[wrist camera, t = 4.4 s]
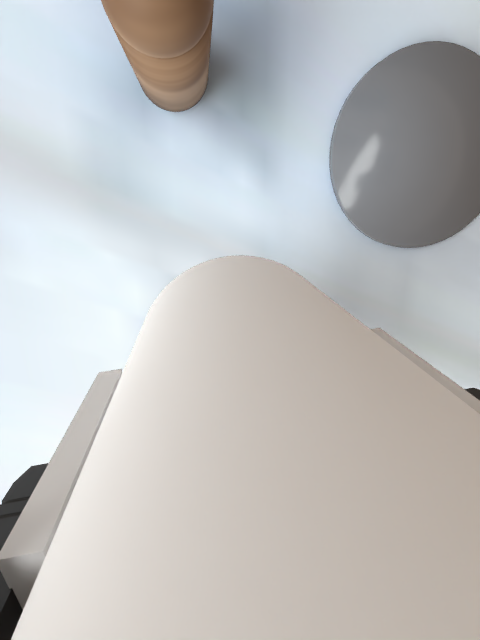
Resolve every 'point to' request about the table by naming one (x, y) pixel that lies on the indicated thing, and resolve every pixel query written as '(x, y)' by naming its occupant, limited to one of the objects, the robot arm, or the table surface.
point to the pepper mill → (166, 47)
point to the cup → (267, 481)
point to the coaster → (411, 146)
